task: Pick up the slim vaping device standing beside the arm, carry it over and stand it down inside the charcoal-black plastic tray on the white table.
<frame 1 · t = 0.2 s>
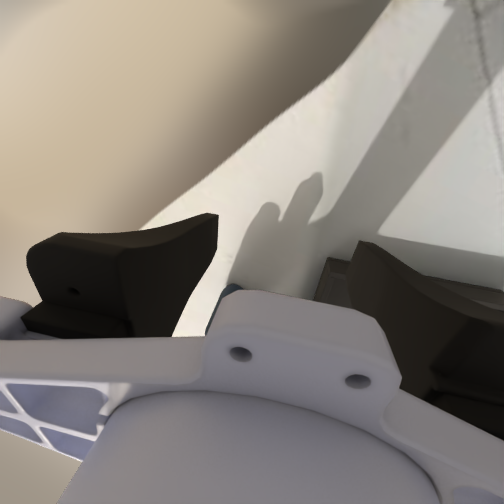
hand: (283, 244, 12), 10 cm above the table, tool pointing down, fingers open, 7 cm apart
tray: (381, 323, 26), on the table
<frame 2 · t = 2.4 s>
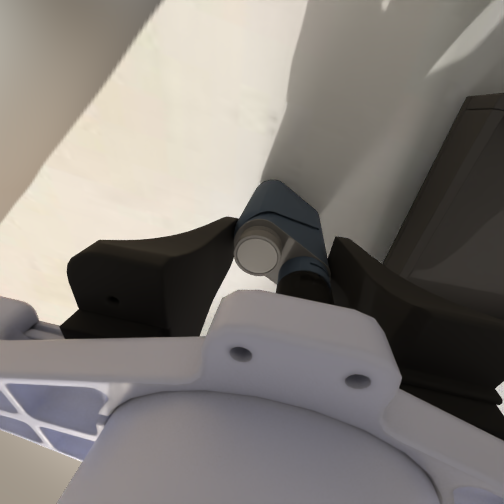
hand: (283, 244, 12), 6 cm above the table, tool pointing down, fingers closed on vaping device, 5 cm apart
vaping device: (287, 206, 17), on the table, touching gripper
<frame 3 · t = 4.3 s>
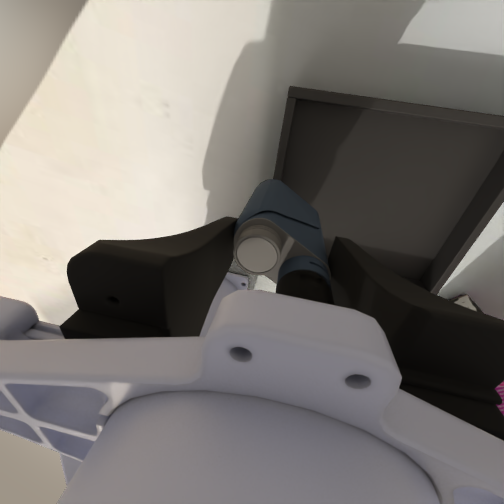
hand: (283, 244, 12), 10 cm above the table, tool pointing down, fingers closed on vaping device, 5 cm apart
tray: (365, 201, 20), on the table
candy bar box: (460, 333, 26), on the table
vaping device: (287, 206, 17), point 5 cm above the table, touching gripper
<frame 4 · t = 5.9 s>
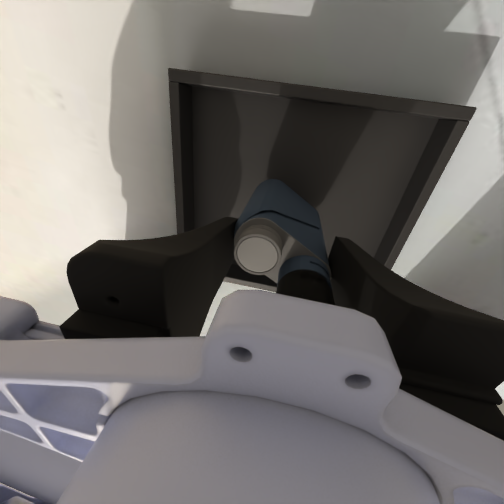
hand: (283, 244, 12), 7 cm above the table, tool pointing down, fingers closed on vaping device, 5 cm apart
tray: (288, 201, 18), on the table
vaping device: (287, 206, 17), point 1 cm above the table, touching gripper
when the fingers open (6 cm above the table, at t = 6.7 s): vaping device stays where it is, resting on tray.
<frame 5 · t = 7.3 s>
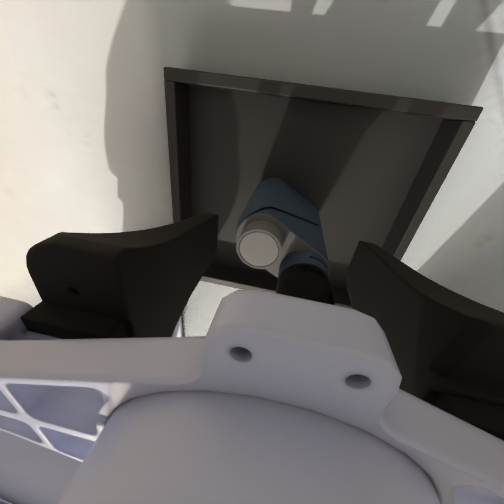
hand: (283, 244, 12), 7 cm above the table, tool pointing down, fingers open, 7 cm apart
tray: (288, 203, 18), on the table
vaping device: (287, 203, 17), resting on tray
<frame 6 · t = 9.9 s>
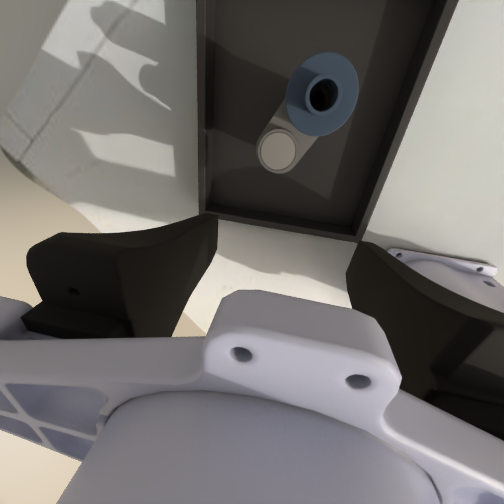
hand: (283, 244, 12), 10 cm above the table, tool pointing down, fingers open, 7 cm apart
tray: (296, 122, 18), on the table
vaping device: (295, 123, 18), resting on tray
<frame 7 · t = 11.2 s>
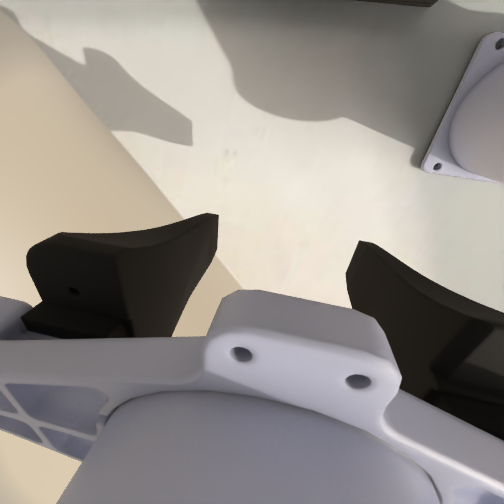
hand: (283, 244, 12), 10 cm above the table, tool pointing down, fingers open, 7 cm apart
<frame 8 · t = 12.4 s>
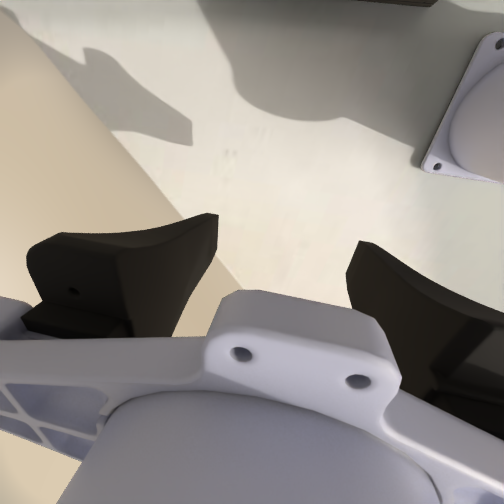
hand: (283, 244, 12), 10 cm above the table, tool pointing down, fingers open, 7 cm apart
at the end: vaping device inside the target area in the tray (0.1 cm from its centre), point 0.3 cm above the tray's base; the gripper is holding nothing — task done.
